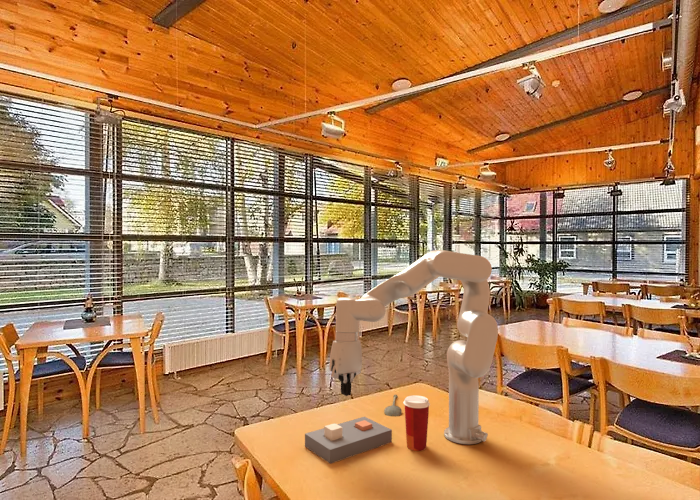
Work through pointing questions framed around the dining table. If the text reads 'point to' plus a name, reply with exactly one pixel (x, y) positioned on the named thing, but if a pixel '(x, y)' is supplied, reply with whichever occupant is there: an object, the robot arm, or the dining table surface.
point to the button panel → (348, 440)
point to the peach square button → (363, 425)
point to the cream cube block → (333, 432)
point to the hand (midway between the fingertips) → (345, 394)
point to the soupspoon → (393, 409)
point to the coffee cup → (416, 422)
